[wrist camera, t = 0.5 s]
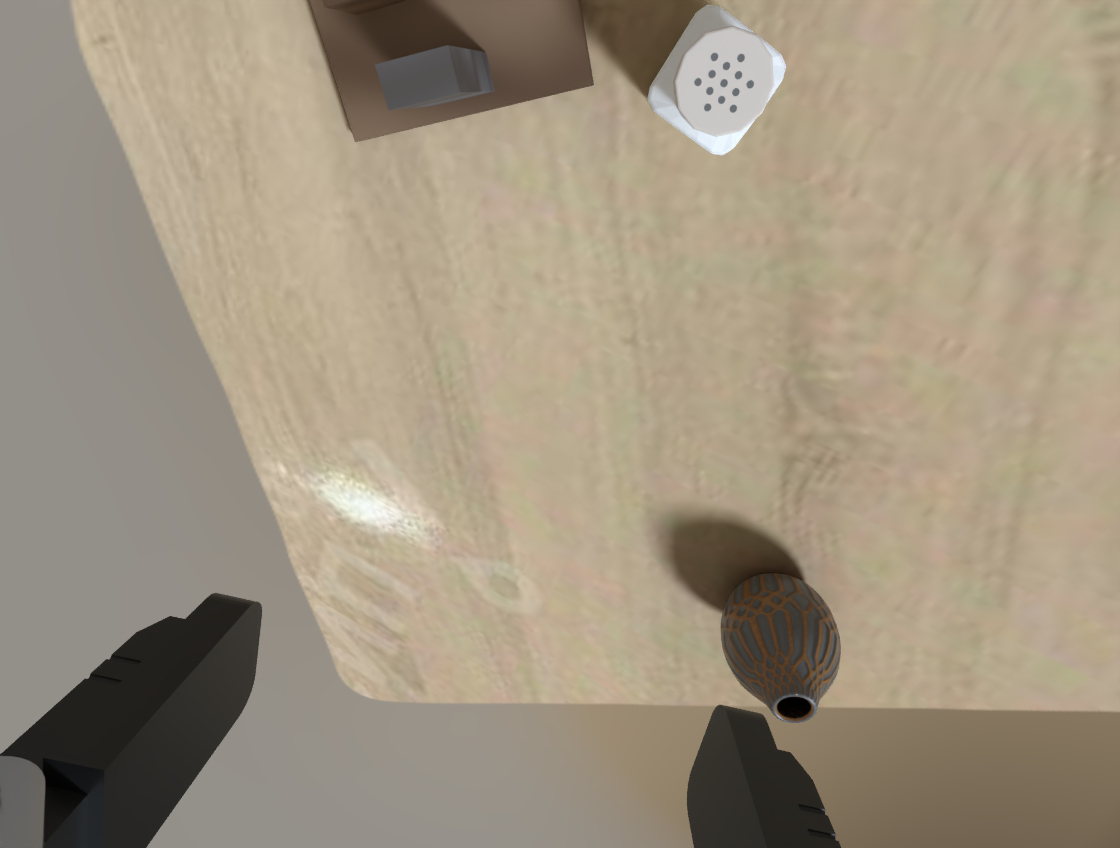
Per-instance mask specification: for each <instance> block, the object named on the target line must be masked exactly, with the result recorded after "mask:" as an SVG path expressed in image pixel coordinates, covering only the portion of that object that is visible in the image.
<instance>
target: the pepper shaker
mask: <svg viewBox="0 0 1120 848" xmlns="http://www.w3.org/2000/svg"><path fill="white" fill-rule="evenodd" d="M785 69H786V64H785V62H784V60H783V57H782V55H781V54H780V53H779V52H778V51H777V50H776V49H774V48H773V47H772V46H771V45H770V44H768V43H767V42H766V41H765V40H764V39H762V38H761V37H760V36H759V35H757V34H756V33H755V32H754V31H752V30H751V29H750V28H748V27H747V26H746V25H744V24H743V23H742V22H740V21H739V20H738V19H737V18H735V17H734V16H732V15H731V14H730V13H728V12H727V11H726V10H724V9H723V8H721V7H720V6H715V5H708V4H707V5H705V6H704V7H703V8H701V9H700V10H699V11H697V12H696V13H695V15H694V16H693V18H692V20H691V21H690V23H689V24H688V26H687V28H686V29H685V31H684V32H683V34H682V36H681V37H680V39H679V41H678V42H677V44H676V45H675V47H674V49H673V50H672V52H671V53H670V55H669V57H668V58H667V60H666V61H665V63H664V65H663V66H662V68H661V70H660V71H659V73H658V74H657V76H656V78H655V79H654V81H653V82H652V84H651V86H650V88H649V93H648V98H647V101H648V103H649V104H650V106H651V108H652V110H653V111H654V112H655V113H656V114H658V115H659V116H661V117H662V118H663V119H665V120H666V121H667V122H669V123H670V124H671V125H673V126H674V127H675V128H677V129H678V130H679V131H681V132H682V133H683V134H685V135H686V136H688V137H689V138H690V139H692V140H693V141H694V142H696V143H697V144H699V145H700V146H701V147H703V148H704V149H706V150H707V151H708V152H710V153H711V154H717V155H724V154H726V153H727V152H729V151H730V150H732V149H733V148H734V147H735V146H736V144H737V143H738V142H739V140H740V139H741V138H742V137H743V135H744V134H745V133H746V131H747V130H748V129H749V127H750V126H751V124H752V123H753V122H754V120H755V119H756V118H757V117H758V116H759V115H760V114H762V113H763V111H764V108H765V106H766V104H767V102H768V101H769V99H770V98H771V96H772V95H773V93H774V92H775V90H776V89H777V87H778V86H779V84H780V83H781V82H782V80H783V77H784V73H785Z"/></svg>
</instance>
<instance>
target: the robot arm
mask: <svg viewBox="0 0 1120 848" xmlns="http://www.w3.org/2000/svg"><path fill="white" fill-rule="evenodd" d="M261 617H262V607H261V604H260V603H259V602H255V601H251V600H246V599H242V598H237V597H233V596H228V595H223V594H218V593H214V594H211V595H210V596H209V597H207V598H206V599H205V600H204V601H203V602H202V604H200V605H199V606H198V607H197V608H196V609H195V610H194V611H193V612H192V613H191V614H190V615H189V616H188V617H187V618H186V619H182V618H177V617H172V616H169V617H167V618H165V619H163V620H161V621H159V622H157V623H155V624H153V625H151V626H149V627H147V628H145V629H143V630H140V631H138V632H136V633H135V634H134V635H133V636H132V637H131V638H130V639H129V640H128V641H126V642H125V643H124V644H123V645H122V646H121V647H120V648H119V649H118V650H116V651H115V652H114V653H113V654H112V656H111V658H110V659H109V660H108V659H106V660H105V661H104V662H103V663H102V664H101V665H100V666H98V667H97V668H96V669H95V670H94V671H93V672H92V673H91V674H90V677H89V678H88V679H84V680H83V681H82V682H81V683H80V684H78V685H77V686H76V687H75V688H74V689H73V690H72V691H71V692H70V693H68V694H67V695H66V696H65V697H64V698H63V699H62V700H61V701H60V702H58V703H57V704H56V705H55V706H54V707H53V708H52V709H51V710H49V711H48V712H47V713H46V714H45V715H44V716H43V717H42V718H41V719H39V720H38V721H37V722H36V723H35V724H34V725H33V726H32V727H31V728H29V729H28V730H27V731H26V732H25V733H24V734H23V735H22V736H20V737H19V738H18V739H17V740H16V741H15V742H14V743H13V744H12V745H10V746H9V747H8V748H7V749H6V750H5V751H4V752H3V753H1V754H0V848H146V847H147V846H148V844H149V843H150V841H151V840H152V839H153V837H154V836H155V834H156V833H157V832H158V830H159V829H160V827H161V826H162V824H163V823H164V822H165V820H166V819H167V817H168V816H169V815H170V813H171V812H172V810H173V809H174V807H175V806H176V805H177V803H178V802H179V800H180V799H181V798H182V796H183V795H184V793H185V792H186V791H187V789H188V788H189V786H190V785H191V784H192V782H193V781H194V779H195V778H196V777H197V775H198V774H199V772H200V771H201V770H202V768H203V767H204V765H205V764H206V762H207V761H208V760H209V758H210V757H211V755H212V754H213V753H214V751H215V750H216V748H217V747H218V746H219V744H220V743H221V741H222V740H223V739H224V737H225V736H226V734H227V733H228V731H229V730H230V729H231V727H232V726H233V724H234V723H235V722H236V720H237V719H238V717H239V716H240V714H241V713H242V711H243V709H244V707H245V705H246V703H247V701H248V698H249V696H250V693H251V690H252V687H253V684H254V680H255V673H256V664H257V655H258V646H259V636H260V627H261ZM687 810H688V817H689V822H690V828H691V833H692V838H693V844H694V848H841V846H840V844H839V842H838V841H836V840H835V832H834V829H833V827H832V825H831V822H830V820H829V818H828V816H827V815H825V808H824V806H823V803H822V801H821V799H820V796H819V794H818V792H817V789H816V787H815V784H814V782H813V780H812V779H811V777H810V776H809V775H808V774H807V772H806V771H805V770H804V769H803V767H802V766H801V765H800V764H799V762H798V761H797V760H796V759H795V757H794V756H793V755H792V754H791V753H790V752H786V751H782V750H777V747H776V744H775V742H774V739H773V736H772V734H771V731H770V729H769V726H768V723H767V721H766V719H765V717H764V716H763V715H762V714H760V713H755V712H751V711H746V710H742V709H737V708H733V707H728V706H723V705H718V706H717V707H716V708H715V710H714V711H713V713H712V716H711V719H710V721H709V724H708V727H707V729H706V732H705V735H704V737H703V741H702V743H701V746H700V749H699V751H698V754H697V757H696V759H695V762H694V765H693V767H692V770H691V774H690V777H689V782H688V791H687Z"/></svg>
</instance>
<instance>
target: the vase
mask: <svg viewBox="0 0 1120 848" xmlns="http://www.w3.org/2000/svg"><path fill="white" fill-rule="evenodd" d="M721 641H722V647H723V651H724V654H725V657H726V660H727V662H728V665H729V667H730V669H731V670H732V672H733V674H734V676H735V677H736V679H737V680H738V681H739V683H740V684H741V685H742V686H743V687H744V688H745V689H746V690H747V691H748V692H749V693H751V694H752V695H753V696H755V697H756V698H757V699H759V700H760V701H761V702H763V703H764V704H766V705H767V706H768V707H769V709H770V710H771V712H772V713H773V714H774V715H775V716H776V717H777V718H778V719H780V720H782V721H785V722H789V723H799V722H804V721H807V720H809V719H810V718H812V717H813V716H814V715H815V713H816V711H817V708H818V704H819V701H820V699H821V698H822V697H823V696H824V694H825V693H826V692H827V690H828V689H829V688H830V686H831V685H832V683H833V681H834V679H835V677H836V675H837V672H838V669H839V663H840V653H841V646H840V637H839V633H838V629H837V625H836V623H835V620H834V618H833V615H832V613H831V611H830V609H829V607H828V606H827V605H826V603H825V602H824V600H823V599H822V598H821V597H820V595H819V594H818V593H817V592H816V591H815V590H814V589H813V588H811V587H810V586H809V585H808V584H806V583H805V582H803V581H801V580H799V579H797V578H795V577H792V576H789V575H786V574H780V573H765V574H760V575H756V576H753V577H751V578H749V579H747V580H745V581H744V582H742V583H741V584H740V585H739V586H737V587H736V588H735V589H734V590H733V592H732V593H731V594H730V596H729V598H728V600H727V602H726V604H725V607H724V610H723V613H722V618H721Z"/></svg>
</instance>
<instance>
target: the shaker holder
mask: <svg viewBox="0 0 1120 848" xmlns="http://www.w3.org/2000/svg"><path fill="white" fill-rule="evenodd" d="M309 1H310V4H311V7H312V10H313V13H314V16H315V19H316V22H317V25H318V28H319V32H320V35H321V38H322V41H323V44H324V47H325V50H326V53H327V56H328V59H329V63H330V66H331V69H332V72H333V75H334V78H335V81H336V84H337V87H338V90H339V93H340V97H341V100H342V103H343V106H344V109H345V112H346V115H347V118H348V121H349V124H350V127H351V131H352V134H353V137H354V140H355V142H358V141H363V140H367V139H371V138H375V137H379V136H384V135H388V134H392V133H396V132H400V131H404V130H409V129H413V128H417V127H421V126H425V125H429V124H434V123H438V122H442V121H446V120H450V119H454V118H459V117H463V116H467V115H471V114H475V113H479V112H484V111H488V110H492V109H496V108H500V107H505V106H509V105H513V104H517V103H521V102H525V101H530V100H534V99H538V98H542V97H546V96H550V95H555V94H559V93H563V92H567V91H571V90H575V89H580V88H584V87H588V86H592V85H594V83H593V77H592V71H591V65H590V59H589V53H588V47H587V41H586V34H585V28H584V22H583V16H582V10H581V4H580V0H309Z"/></svg>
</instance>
